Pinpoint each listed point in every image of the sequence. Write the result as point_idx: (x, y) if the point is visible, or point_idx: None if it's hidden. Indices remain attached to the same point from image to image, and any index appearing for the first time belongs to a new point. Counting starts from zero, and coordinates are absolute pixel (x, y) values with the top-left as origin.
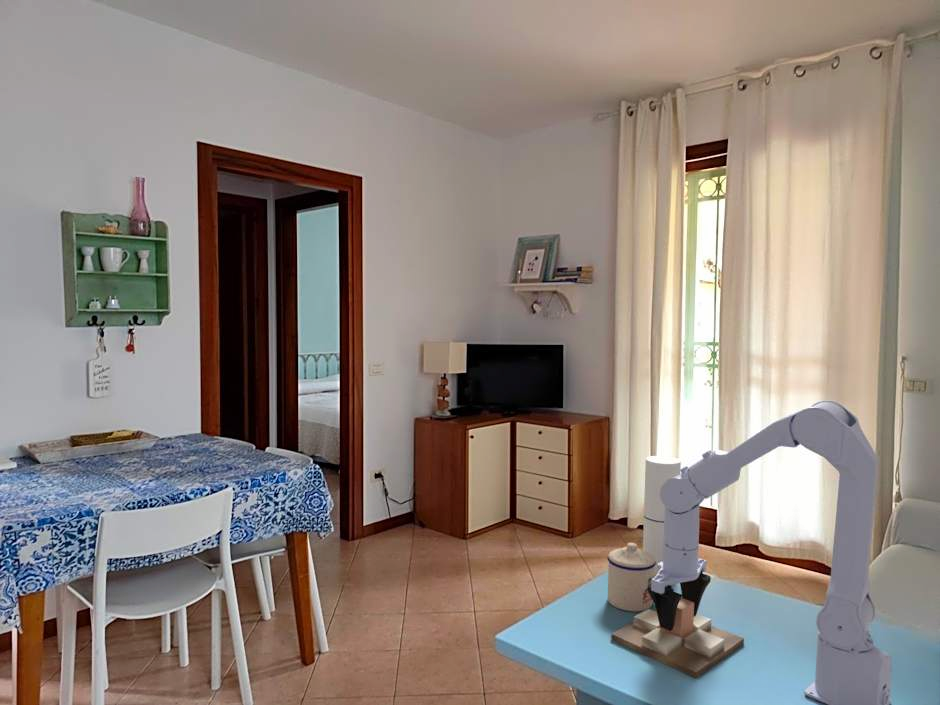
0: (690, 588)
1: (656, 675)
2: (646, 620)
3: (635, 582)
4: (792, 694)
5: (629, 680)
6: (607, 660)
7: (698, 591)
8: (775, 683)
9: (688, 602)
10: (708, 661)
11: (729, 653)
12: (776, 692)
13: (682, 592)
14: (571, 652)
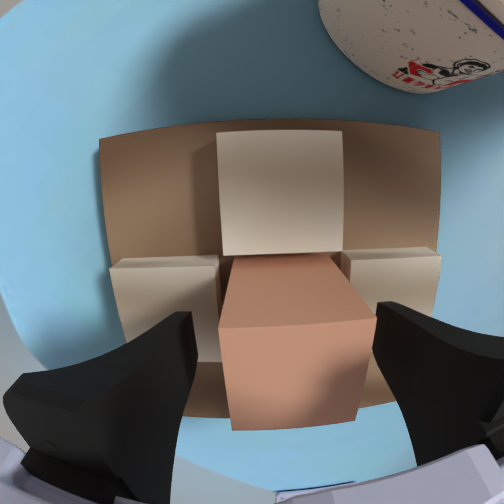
0: (432, 403)
1: (86, 342)
2: (232, 193)
3: (401, 10)
4: (266, 485)
5: (31, 310)
6: (32, 223)
7: (416, 434)
8: (278, 470)
9: (337, 410)
10: (220, 414)
11: None
12: (251, 477)
13: (428, 337)
14: (3, 142)
